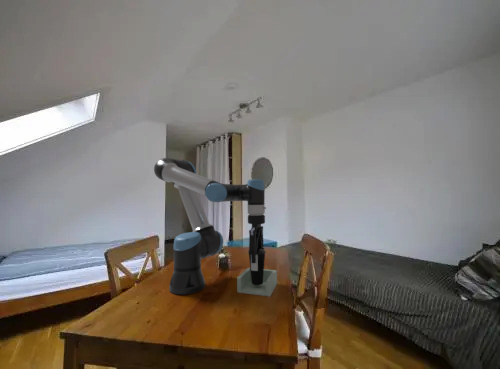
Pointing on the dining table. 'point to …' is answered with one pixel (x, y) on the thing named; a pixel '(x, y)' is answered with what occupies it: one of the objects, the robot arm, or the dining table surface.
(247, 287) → the u rest
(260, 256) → the drinking cup
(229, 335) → the dining table surface
